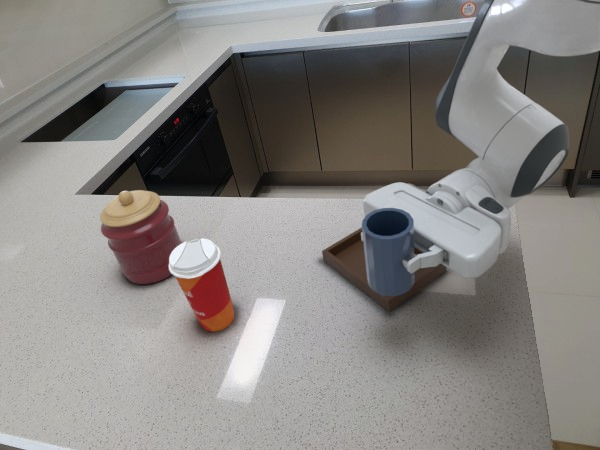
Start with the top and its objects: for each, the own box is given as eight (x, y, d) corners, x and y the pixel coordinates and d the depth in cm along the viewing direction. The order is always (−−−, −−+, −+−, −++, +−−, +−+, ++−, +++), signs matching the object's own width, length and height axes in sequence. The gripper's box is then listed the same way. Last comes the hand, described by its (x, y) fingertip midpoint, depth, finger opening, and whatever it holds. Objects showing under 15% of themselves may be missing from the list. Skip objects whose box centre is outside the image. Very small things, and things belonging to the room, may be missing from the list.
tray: (446, 271, 80) (446, 260, 78) (388, 311, 74) (388, 301, 73) (377, 228, 92) (376, 218, 91) (323, 260, 87) (321, 250, 86)
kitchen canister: (180, 236, 101) (152, 166, 91) (193, 269, 91) (163, 195, 81) (121, 258, 98) (86, 188, 88) (128, 295, 88) (88, 221, 78)
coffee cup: (196, 305, 83) (169, 241, 74) (241, 297, 83) (219, 231, 74) (192, 342, 76) (162, 276, 67) (241, 332, 76) (217, 265, 67)
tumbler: (424, 279, 63) (424, 221, 57) (390, 303, 60) (386, 246, 54) (391, 257, 67) (388, 201, 61) (358, 279, 65) (351, 223, 59)
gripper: (402, 163, 71) (332, 202, 66) (523, 217, 56) (445, 273, 51) (403, 197, 75) (337, 236, 70) (517, 256, 60) (444, 311, 55)
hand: (384, 252), depth 60 cm, fingers closed on tumbler, 6 cm apart
